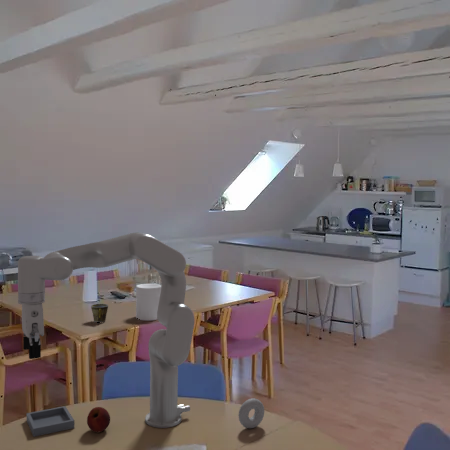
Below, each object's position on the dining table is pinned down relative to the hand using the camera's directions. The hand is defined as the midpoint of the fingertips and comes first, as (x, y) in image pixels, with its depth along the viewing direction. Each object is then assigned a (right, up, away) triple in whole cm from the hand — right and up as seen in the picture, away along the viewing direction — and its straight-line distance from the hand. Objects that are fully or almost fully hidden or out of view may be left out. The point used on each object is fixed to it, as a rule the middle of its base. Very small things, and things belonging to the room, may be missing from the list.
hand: (31, 353), depth 154 cm
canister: (+10, -20, +168) cm, 169 cm away
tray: (-1, -29, +19) cm, 34 cm away
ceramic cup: (-17, -20, +153) cm, 155 cm away
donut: (+67, -30, +19) cm, 76 cm away
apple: (+16, -30, +15) cm, 37 cm away
